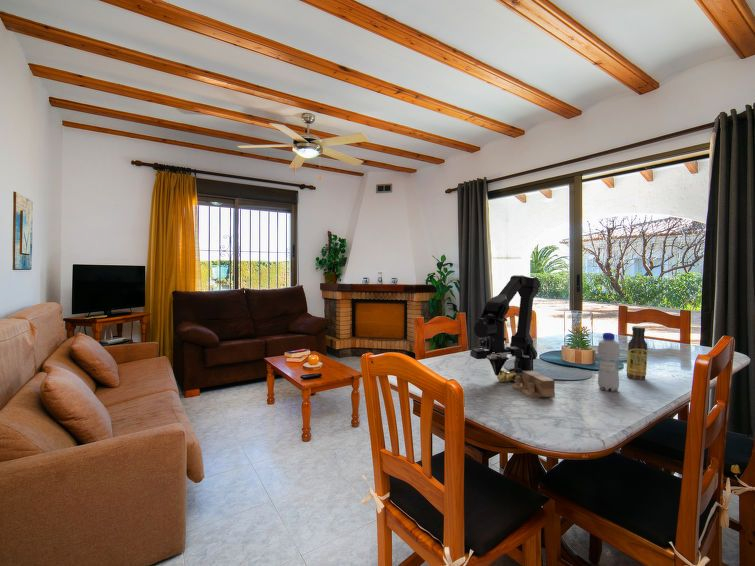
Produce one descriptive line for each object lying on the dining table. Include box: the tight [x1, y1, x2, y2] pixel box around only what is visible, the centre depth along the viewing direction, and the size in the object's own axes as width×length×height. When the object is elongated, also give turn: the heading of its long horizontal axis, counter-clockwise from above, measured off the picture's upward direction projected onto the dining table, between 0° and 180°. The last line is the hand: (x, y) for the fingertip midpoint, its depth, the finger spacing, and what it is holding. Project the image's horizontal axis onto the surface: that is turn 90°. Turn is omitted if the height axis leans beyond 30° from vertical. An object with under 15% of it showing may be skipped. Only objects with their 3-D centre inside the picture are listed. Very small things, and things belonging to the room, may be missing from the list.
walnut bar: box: [522, 370, 555, 397], centre depth 125 cm, size 12×4×5 cm, turn 11°
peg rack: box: [512, 376, 556, 399], centre depth 128 cm, size 12×8×4 cm, turn 11°
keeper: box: [507, 367, 525, 383], centre depth 140 cm, size 5×8×4 cm, turn 11°
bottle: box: [597, 332, 621, 392], centre depth 129 cm, size 7×7×20 cm
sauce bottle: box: [626, 326, 648, 381], centre depth 141 cm, size 6×6×20 cm
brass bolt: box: [496, 369, 517, 383], centre depth 139 cm, size 6×5×5 cm
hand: (496, 375), depth 138 cm, fingers closed
